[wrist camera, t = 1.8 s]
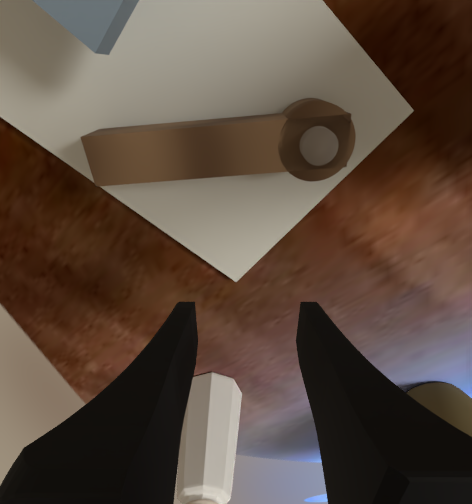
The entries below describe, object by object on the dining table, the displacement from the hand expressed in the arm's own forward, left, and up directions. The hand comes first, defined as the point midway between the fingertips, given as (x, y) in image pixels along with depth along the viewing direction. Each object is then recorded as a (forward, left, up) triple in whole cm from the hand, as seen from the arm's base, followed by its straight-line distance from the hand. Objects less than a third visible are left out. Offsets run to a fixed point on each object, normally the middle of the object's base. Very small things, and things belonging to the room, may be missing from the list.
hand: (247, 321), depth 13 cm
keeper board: (+8, -4, -9) cm, 13 cm away
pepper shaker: (-9, +15, -10) cm, 20 cm away
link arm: (+4, -3, -8) cm, 10 cm away
